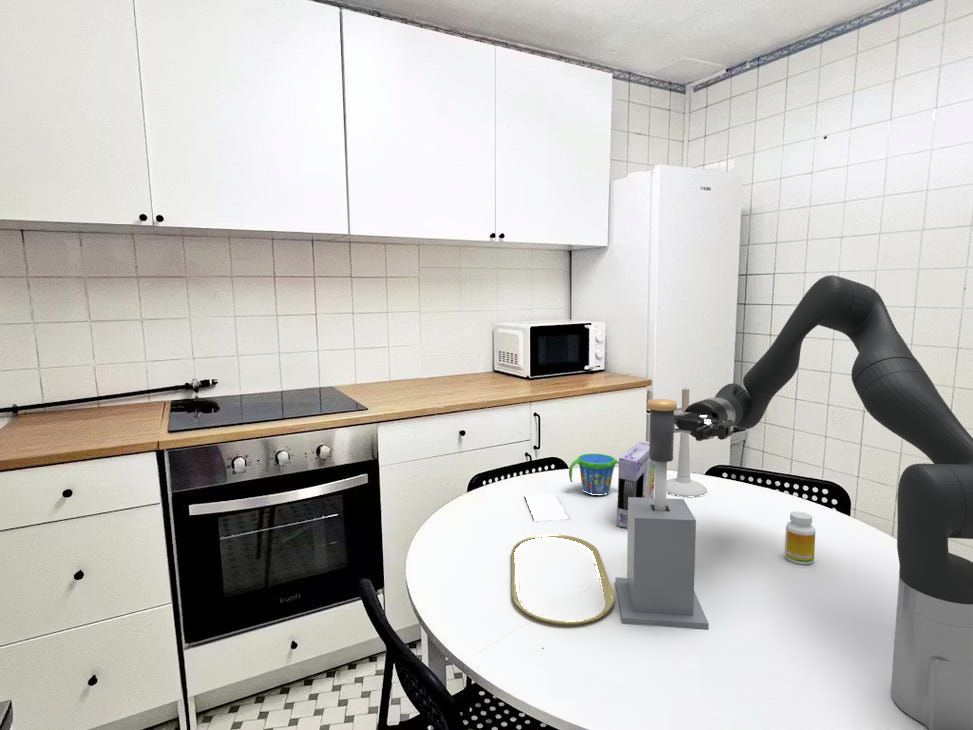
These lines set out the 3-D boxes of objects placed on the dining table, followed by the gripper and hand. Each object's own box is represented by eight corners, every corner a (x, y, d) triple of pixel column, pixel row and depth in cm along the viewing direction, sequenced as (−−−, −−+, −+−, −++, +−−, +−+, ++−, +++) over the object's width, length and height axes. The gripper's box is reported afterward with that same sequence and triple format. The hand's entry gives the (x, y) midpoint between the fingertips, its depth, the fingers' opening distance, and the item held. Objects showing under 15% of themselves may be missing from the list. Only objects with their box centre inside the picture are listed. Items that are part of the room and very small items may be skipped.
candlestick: (711, 498, 152) (715, 391, 148) (663, 496, 154) (666, 390, 150) (701, 483, 164) (704, 384, 161) (657, 481, 166) (658, 383, 163)
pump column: (708, 629, 92) (711, 525, 90) (622, 623, 94) (623, 521, 92) (689, 586, 105) (692, 495, 103) (615, 582, 107) (616, 493, 105)
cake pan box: (634, 532, 130) (635, 460, 128) (613, 528, 133) (614, 457, 131) (655, 506, 146) (657, 441, 144) (637, 503, 149) (638, 439, 147)
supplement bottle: (818, 566, 112) (820, 520, 111) (789, 564, 113) (791, 519, 112) (808, 554, 118) (810, 510, 116) (781, 552, 119) (783, 509, 118)
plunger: (675, 557, 96) (679, 404, 93) (647, 556, 96) (649, 403, 93) (670, 545, 100) (673, 399, 97) (643, 544, 101) (645, 398, 98)
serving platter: (512, 630, 93) (512, 621, 93) (511, 540, 128) (511, 534, 128) (624, 631, 92) (624, 622, 92) (592, 540, 127) (592, 534, 127)
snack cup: (621, 487, 162) (621, 453, 161) (626, 499, 152) (627, 463, 151) (567, 486, 164) (567, 452, 162) (569, 498, 153) (569, 463, 152)
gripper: (676, 395, 116) (638, 406, 104) (747, 403, 106) (714, 416, 94) (675, 430, 117) (638, 445, 105) (745, 441, 107) (713, 458, 95)
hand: (674, 431), depth 100 cm, fingers open, 8 cm apart
